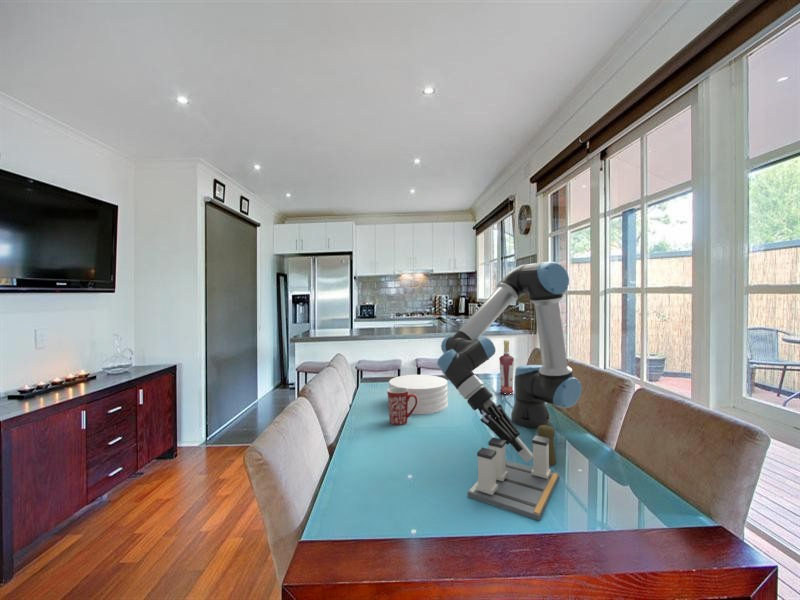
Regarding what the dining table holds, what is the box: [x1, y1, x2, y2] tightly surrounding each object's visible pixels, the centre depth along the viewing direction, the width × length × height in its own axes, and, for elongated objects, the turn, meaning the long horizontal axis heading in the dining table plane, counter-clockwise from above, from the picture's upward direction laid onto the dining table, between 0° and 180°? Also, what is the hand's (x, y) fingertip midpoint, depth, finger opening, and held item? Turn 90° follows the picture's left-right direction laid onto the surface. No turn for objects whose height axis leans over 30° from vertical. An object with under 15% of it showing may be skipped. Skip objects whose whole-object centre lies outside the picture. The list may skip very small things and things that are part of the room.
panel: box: [467, 459, 560, 522], centre depth 97 cm, size 18×23×1 cm
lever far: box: [476, 447, 498, 495], centre depth 93 cm, size 4×4×10 cm
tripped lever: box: [531, 435, 552, 479], centre depth 101 cm, size 4×4×10 cm
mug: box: [386, 387, 417, 426], centre depth 147 cm, size 13×9×14 cm
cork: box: [536, 425, 557, 467], centre depth 112 cm, size 6×6×11 cm
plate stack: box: [388, 374, 449, 415], centre depth 171 cm, size 28×28×12 cm
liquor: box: [498, 340, 515, 395], centre depth 188 cm, size 7×7×28 cm
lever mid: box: [487, 436, 508, 481], centre depth 100 cm, size 4×4×10 cm
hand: (530, 459), depth 103 cm, fingers closed
